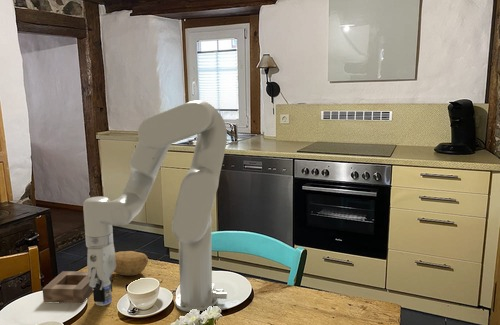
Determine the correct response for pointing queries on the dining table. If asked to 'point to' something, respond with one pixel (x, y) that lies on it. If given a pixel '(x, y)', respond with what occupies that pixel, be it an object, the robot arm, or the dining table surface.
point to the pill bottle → (106, 292)
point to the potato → (130, 262)
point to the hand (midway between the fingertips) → (103, 296)
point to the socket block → (68, 288)
